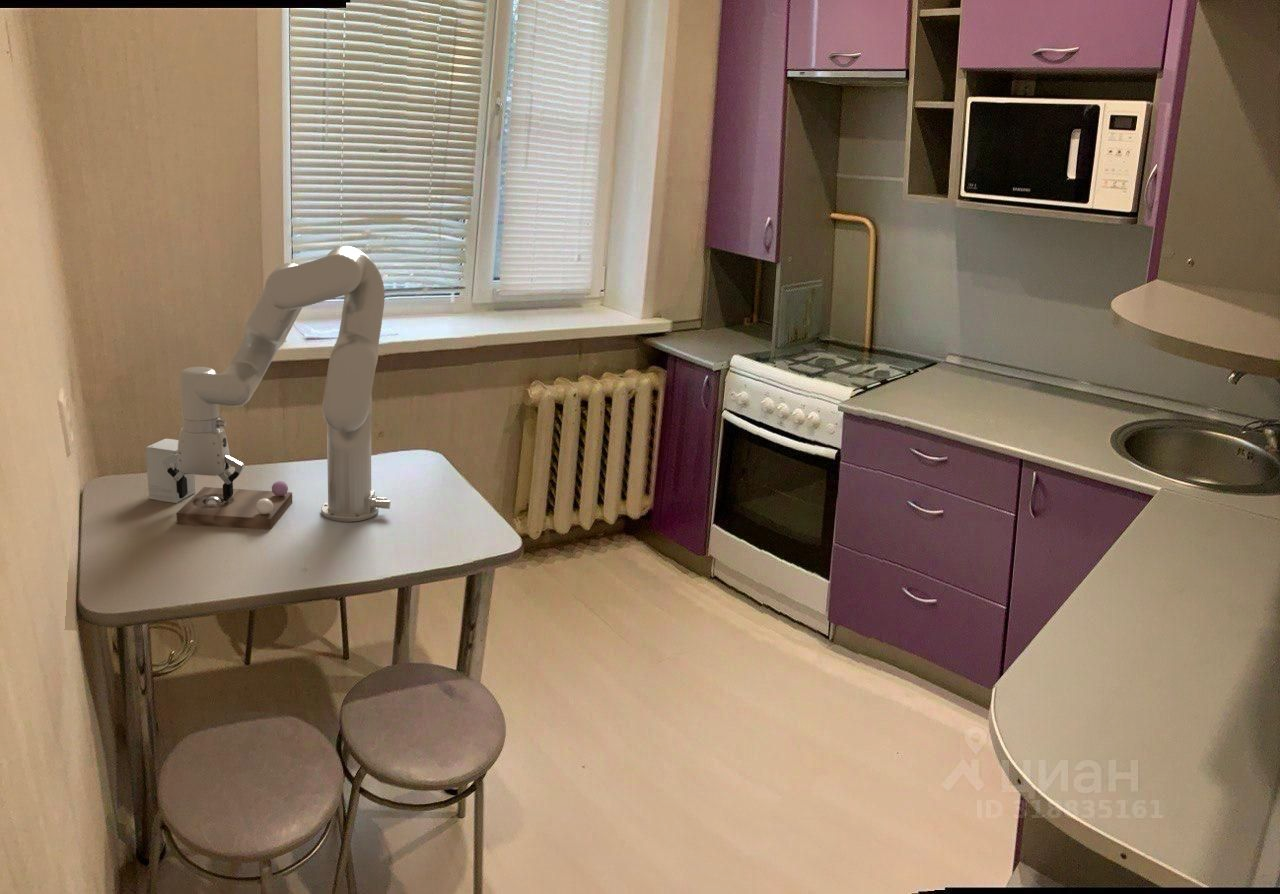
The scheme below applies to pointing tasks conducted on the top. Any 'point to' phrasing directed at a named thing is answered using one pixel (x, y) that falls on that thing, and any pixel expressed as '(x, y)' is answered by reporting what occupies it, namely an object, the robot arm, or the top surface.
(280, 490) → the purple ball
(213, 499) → the steel ball
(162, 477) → the supplement box
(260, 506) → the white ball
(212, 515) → the board
